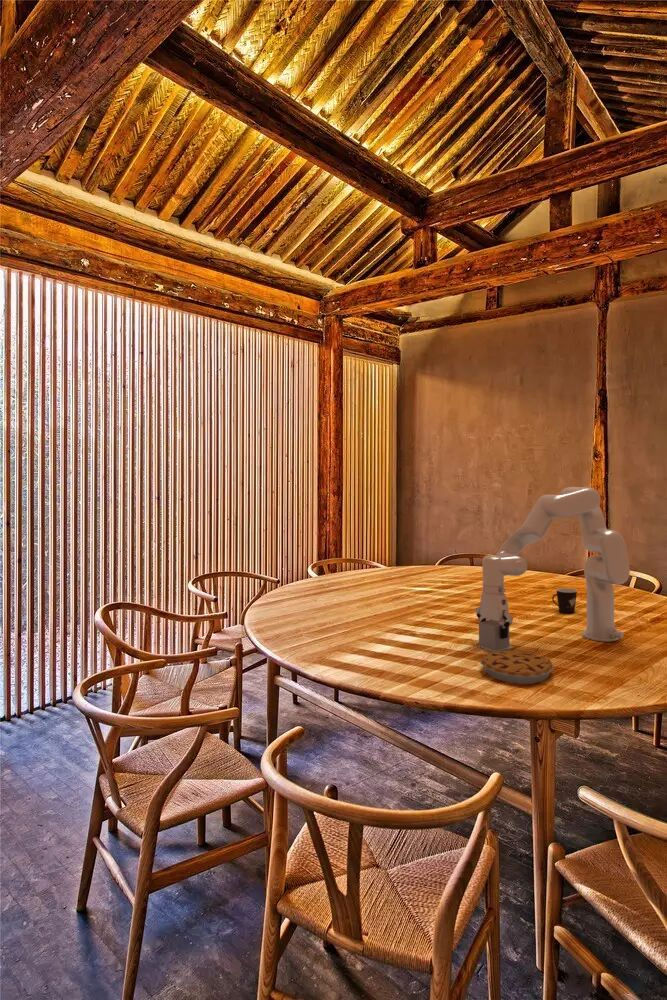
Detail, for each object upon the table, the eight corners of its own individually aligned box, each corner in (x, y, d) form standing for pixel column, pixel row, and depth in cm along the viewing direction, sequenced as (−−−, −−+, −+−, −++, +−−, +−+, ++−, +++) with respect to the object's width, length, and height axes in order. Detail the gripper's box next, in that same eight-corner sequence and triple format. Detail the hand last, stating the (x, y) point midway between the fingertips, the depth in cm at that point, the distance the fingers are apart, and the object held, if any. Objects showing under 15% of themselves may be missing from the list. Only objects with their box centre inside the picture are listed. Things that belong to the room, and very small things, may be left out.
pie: (567, 675, 171) (567, 659, 171) (525, 692, 158) (525, 676, 158) (509, 657, 189) (509, 643, 188) (467, 671, 176) (467, 656, 176)
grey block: (509, 647, 198) (509, 623, 198) (495, 651, 194) (494, 627, 194) (493, 641, 205) (493, 619, 204) (479, 645, 201) (478, 622, 200)
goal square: (513, 647, 198) (513, 646, 198) (495, 652, 193) (495, 652, 193) (492, 640, 206) (492, 640, 206) (474, 645, 201) (474, 645, 201)
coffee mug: (573, 609, 248) (573, 588, 248) (579, 614, 240) (579, 592, 239) (547, 609, 249) (547, 588, 249) (552, 614, 241) (552, 592, 240)
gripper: (519, 592, 193) (519, 639, 194) (482, 584, 208) (483, 627, 209) (504, 594, 189) (505, 642, 190) (468, 586, 204) (469, 631, 205)
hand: (493, 635), depth 199 cm, fingers open, 9 cm apart
